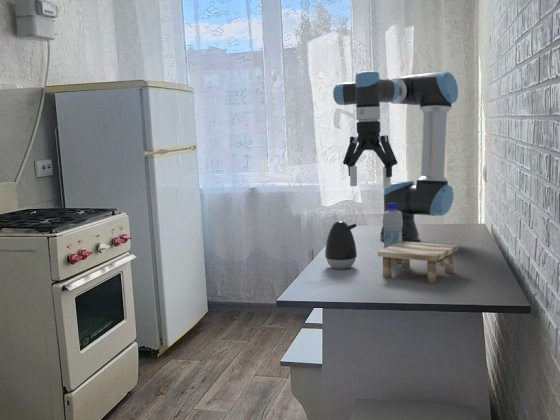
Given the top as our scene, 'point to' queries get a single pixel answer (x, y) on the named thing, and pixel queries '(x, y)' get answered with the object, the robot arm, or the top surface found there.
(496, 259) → the top surface
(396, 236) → the bottle
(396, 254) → the footstool
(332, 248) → the pump dispenser
